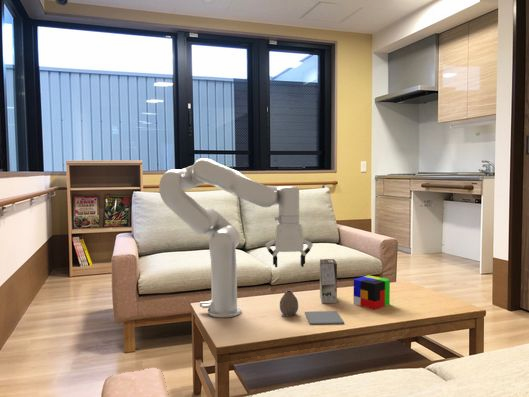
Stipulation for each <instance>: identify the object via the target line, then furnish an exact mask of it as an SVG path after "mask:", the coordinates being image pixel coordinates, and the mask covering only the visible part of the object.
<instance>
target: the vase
mask: <svg viewBox="0 0 529 397" xmlns="http://www.w3.org/2000/svg"><path fill="white" fill-rule="evenodd" d="M298 301H299V300H298V298H297V297H296V296H295V294H294V293H293V290H286V291H285V292H284V294H283V295H282V297H281V298H280V300H279V309H280V312H281V313H282V315H283V316H285V317H293V316H295V315H296V314H297V313H298V310H299V302H298Z"/></svg>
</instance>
